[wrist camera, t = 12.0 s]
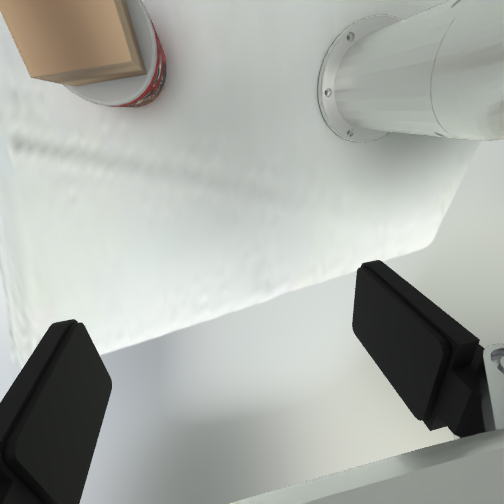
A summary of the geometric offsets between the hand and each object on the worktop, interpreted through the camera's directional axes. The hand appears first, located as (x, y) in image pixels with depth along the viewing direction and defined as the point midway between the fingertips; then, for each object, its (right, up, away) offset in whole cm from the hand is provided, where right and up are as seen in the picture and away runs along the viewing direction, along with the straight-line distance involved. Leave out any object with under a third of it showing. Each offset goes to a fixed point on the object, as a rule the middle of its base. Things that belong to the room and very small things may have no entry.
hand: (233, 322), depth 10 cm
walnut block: (-10, +17, +9) cm, 21 cm away
